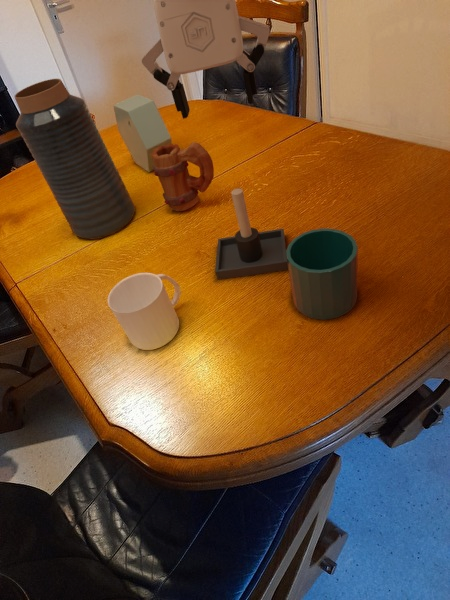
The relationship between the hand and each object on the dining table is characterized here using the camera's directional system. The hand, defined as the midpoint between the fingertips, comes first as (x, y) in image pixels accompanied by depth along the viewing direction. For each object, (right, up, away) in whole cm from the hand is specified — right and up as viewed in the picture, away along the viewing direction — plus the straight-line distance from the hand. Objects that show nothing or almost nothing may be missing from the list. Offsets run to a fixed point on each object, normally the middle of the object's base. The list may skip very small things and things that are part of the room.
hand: (218, 107), depth 59 cm
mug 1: (-10, -33, +12) cm, 36 cm away
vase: (-29, -8, +43) cm, 52 cm away
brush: (+6, -19, +19) cm, 28 cm away
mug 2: (-6, -5, +38) cm, 39 cm away
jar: (+17, -27, +8) cm, 33 cm away
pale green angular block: (-20, +12, +61) cm, 65 cm away
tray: (+6, -20, +19) cm, 28 cm away
